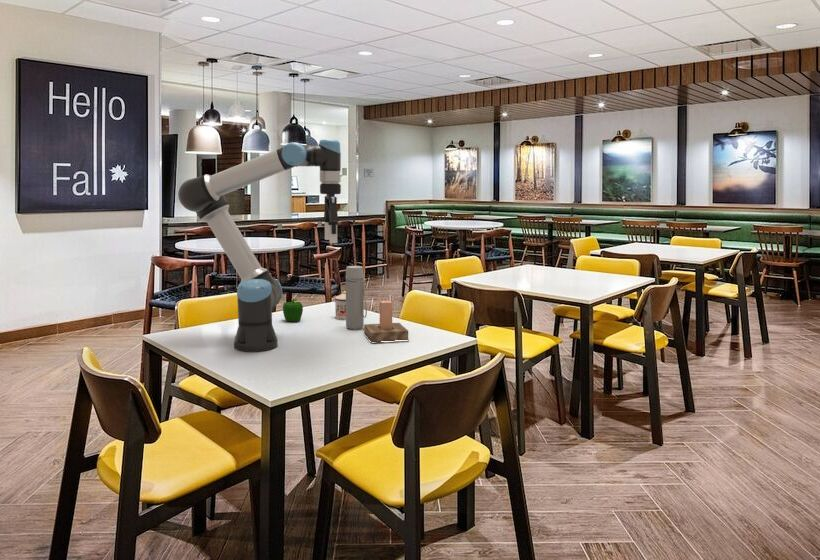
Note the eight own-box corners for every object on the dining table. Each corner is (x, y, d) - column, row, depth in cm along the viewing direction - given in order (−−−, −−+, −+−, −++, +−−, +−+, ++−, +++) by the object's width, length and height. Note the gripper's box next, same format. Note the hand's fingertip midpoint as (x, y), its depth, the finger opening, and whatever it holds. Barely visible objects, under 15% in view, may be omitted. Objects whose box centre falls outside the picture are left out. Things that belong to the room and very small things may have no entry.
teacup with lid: (332, 319, 267) (332, 292, 265) (337, 315, 276) (337, 289, 274) (360, 320, 265) (360, 293, 264) (364, 316, 274) (364, 290, 272)
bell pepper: (282, 319, 266) (281, 296, 265) (301, 318, 269) (301, 295, 267) (284, 323, 258) (283, 300, 257) (304, 322, 261) (303, 299, 259)
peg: (381, 339, 234) (381, 303, 232) (379, 336, 238) (379, 301, 235) (392, 338, 235) (392, 302, 233) (389, 336, 239) (389, 300, 236)
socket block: (371, 343, 228) (371, 332, 227) (364, 334, 241) (364, 324, 241) (408, 341, 231) (408, 330, 231) (399, 332, 245) (399, 322, 244)
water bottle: (341, 328, 250) (341, 267, 246) (352, 325, 257) (352, 265, 253) (361, 331, 246) (361, 269, 242) (371, 327, 253) (371, 266, 249)
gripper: (346, 183, 215) (346, 244, 218) (335, 183, 239) (336, 238, 242) (324, 183, 213) (325, 244, 216) (316, 182, 237) (316, 238, 240)
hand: (330, 241), depth 229 cm, fingers open, 13 cm apart
